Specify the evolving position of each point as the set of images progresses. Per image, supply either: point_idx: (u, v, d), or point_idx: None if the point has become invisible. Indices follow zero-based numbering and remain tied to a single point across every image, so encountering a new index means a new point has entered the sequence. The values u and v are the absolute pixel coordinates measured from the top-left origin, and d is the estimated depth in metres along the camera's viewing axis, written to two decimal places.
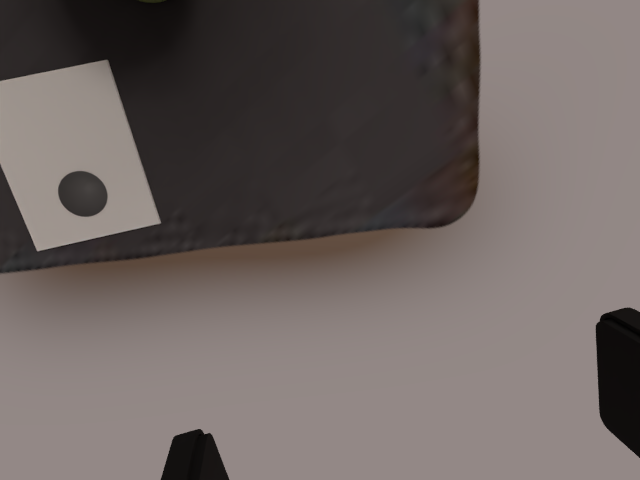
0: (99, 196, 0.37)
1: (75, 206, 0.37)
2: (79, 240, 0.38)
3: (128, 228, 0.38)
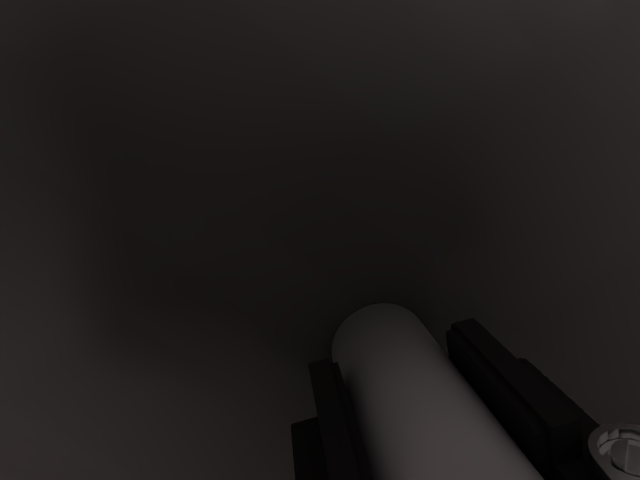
0: None
1: None
2: None
3: None
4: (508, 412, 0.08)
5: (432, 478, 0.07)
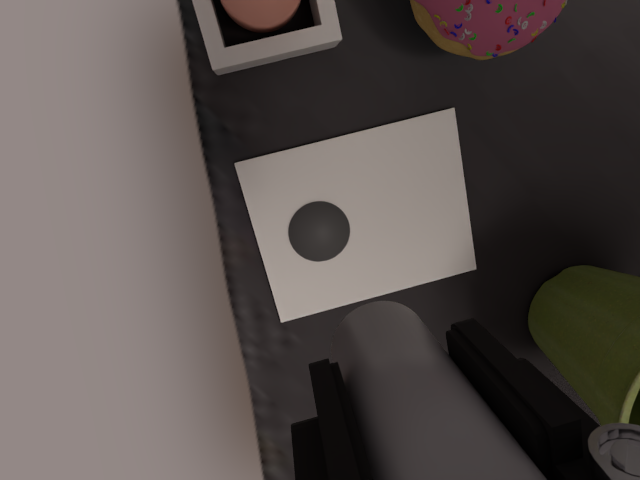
0: (316, 251, 0.27)
1: (302, 221, 0.27)
2: (253, 221, 0.26)
3: (272, 284, 0.28)
4: (508, 412, 0.08)
5: (432, 475, 0.07)
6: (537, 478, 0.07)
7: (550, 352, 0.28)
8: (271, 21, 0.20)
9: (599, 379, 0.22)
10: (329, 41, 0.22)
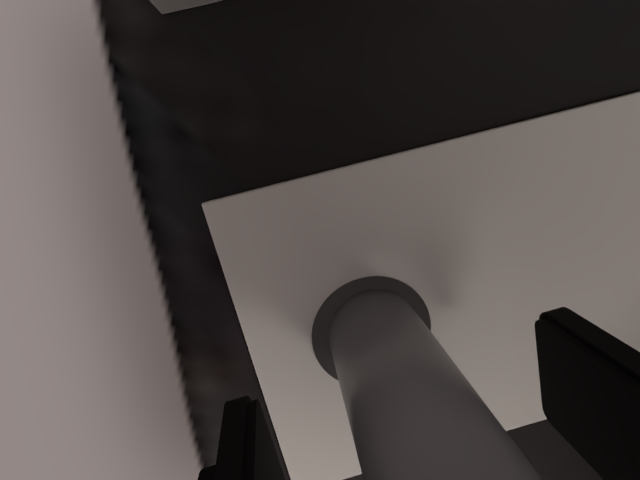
0: None
1: None
2: (242, 318, 0.13)
3: (280, 429, 0.14)
4: (633, 402, 0.07)
5: (409, 434, 0.07)
6: (502, 437, 0.07)
7: None
8: None
9: None
10: None
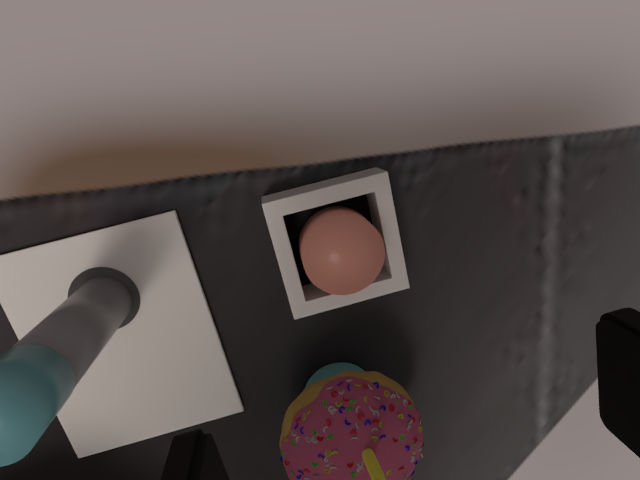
0: None
1: None
2: (109, 229, 0.24)
3: (31, 251, 0.24)
4: None
5: (82, 336, 0.19)
6: (86, 370, 0.19)
7: None
8: None
9: None
10: (291, 309, 0.24)
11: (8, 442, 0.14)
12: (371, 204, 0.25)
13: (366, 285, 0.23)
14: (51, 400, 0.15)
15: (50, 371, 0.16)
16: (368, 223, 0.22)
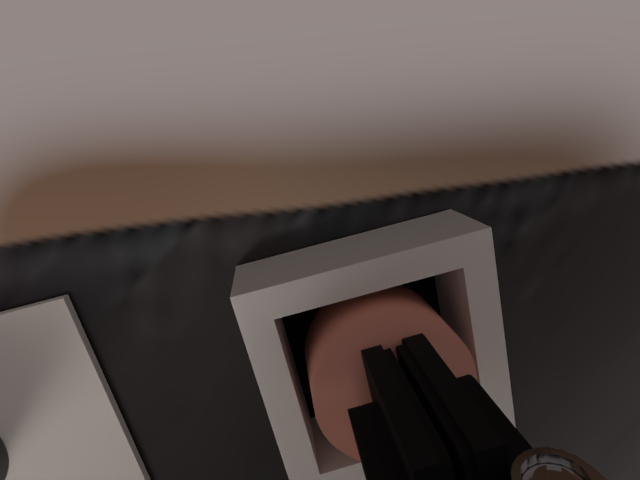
0: None
1: None
2: None
3: None
4: (442, 433, 0.08)
5: None
6: None
7: None
8: None
9: None
10: None
11: None
12: (444, 281, 0.13)
13: None
14: None
15: None
16: (447, 331, 0.11)
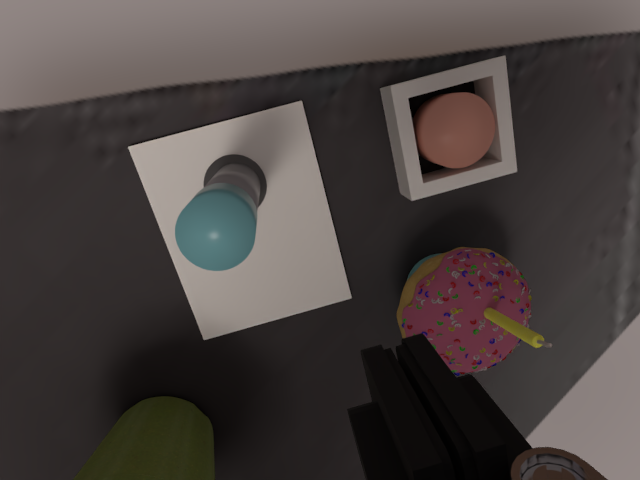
0: None
1: None
2: (243, 117, 0.26)
3: (174, 137, 0.26)
4: (442, 433, 0.08)
5: (251, 190, 0.21)
6: None
7: (126, 426, 0.28)
8: (424, 140, 0.25)
9: (121, 476, 0.23)
10: (410, 190, 0.26)
11: (230, 247, 0.17)
12: (482, 94, 0.27)
13: (476, 159, 0.26)
14: (255, 221, 0.18)
15: (248, 200, 0.18)
16: (482, 100, 0.25)
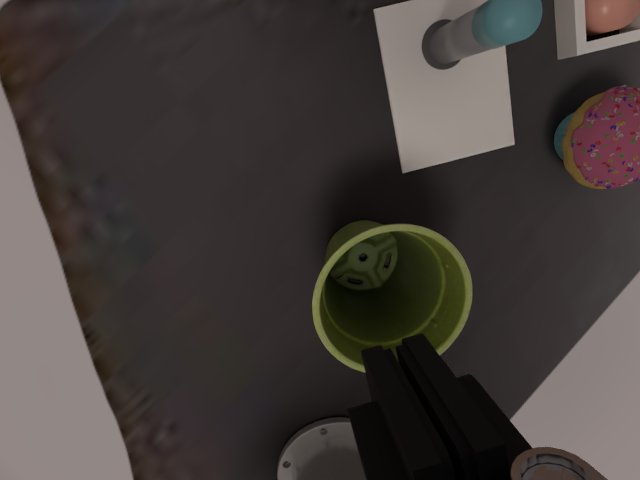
0: None
1: None
2: None
3: (406, 3, 0.35)
4: (442, 433, 0.08)
5: None
6: None
7: (356, 226, 0.36)
8: (592, 6, 0.35)
9: None
10: (576, 47, 0.36)
11: (525, 24, 0.26)
12: None
13: (627, 23, 0.35)
14: None
15: None
16: None
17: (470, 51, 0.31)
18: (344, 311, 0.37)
